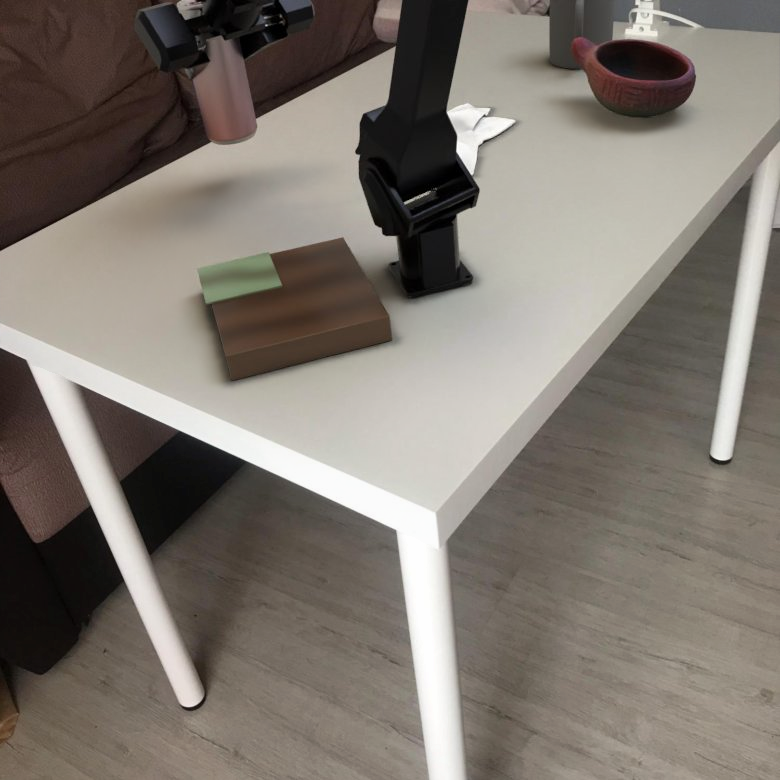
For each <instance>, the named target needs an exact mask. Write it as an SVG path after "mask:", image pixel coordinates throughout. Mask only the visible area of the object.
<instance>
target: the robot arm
mask: <svg viewBox="0 0 780 780" xmlns="http://www.w3.org/2000/svg"><path fill="white" fill-rule="evenodd" d="M469 1H470V0H401V4H400V5H401V6H400V13H399V21H398V28H397V33H396V42H395V48H394V56H393V61H392V62H393V63H392V71H391V78H390V84H389V91H388V98H387V102H386V104H385V105H382V106H379V107H377V108H374V109H372V110H369V111H367V112H364V113H362V115H361V118H360V121H359V123H358V124H359V126H358V127H359V139H358V144H357V147H356V149H355V150H354V153H355V155H357V156H358V157H359V158H358V180H359V184H360V186H361V189H362V192H363V195H364V198H365V201H366V204H367V207H368V210H369V213H370V216H371V218H372V221H373V224H374V226H376V227H378V228H380V229H381V234H382V236H385V237H395V239H396V248H397V249H396V250H397V258H398V260H394V261H391V262H389V263H388V268H389V271H390V272H391V274H392V275H393V277H394V279H395V280H396V282H397V283H398V285H399V286H400V288H401V289H402V291H403V292H404V294H405V295H406V297H408V298H415V297H418V296H422V295H426V294H430V293H431V294H432V293H435V292H439V291H443V290H447V289H451V288H456V287H459V286H464V285H467V284H471V283H473V282H474V275H473V274H472V273H471V272H470V270H469V269H468V267H466V265H465V264H464V263H463V261H462V260H461V259H460V245H459V243H460V242H459V230H458V229H459V226H458V215H459V214H461V213H463V212H465V211H467V210H470V209H473V208H476V207H477V204H478V200H479V196H480V192H481V189H480V187H479V185H478V183H477V182H476V181H475V178H474V177H473V176H471V174H470V172H469V171H468V169H467V168H466V166H465V164H464V163H463V161H462V160H461V158H460V156H459V155H458V153H457V152H456V150H457V133H456V131H455V129H454V127H453V125H452V123H451V120H450V118H449V116H448V114H447V112H448V103H449V98H450V94H451V90H452V84H453V79H454V74H455V69H456V65H457V60H458V55H459V49H460V45H461V39H462V35H463V30H464V25H465V20H466V15H467V9H468V4H469ZM195 2H196V3H198V2H201V3H202V5H203V6H202V8H200V10H199V13H200V15H201V16H198V17H194V18H191V19H187V20H185V19H184V17H183V16H182V14H181V13H179V11H178V7H177V5H176V4H175V3H174V2H169V1H166V2H163V3H159V4H156V5H155V4H154V5H152V6H147V7H143V8H141V9H137V12H136V15H135V18H134V24H133V30H134V31H135V33H136V34H137V36H138V37H139V39H140V41H141V42H142V44H143V45H144V47H145V49H146V50H147V53H148V54H149V56H150V57H151V59H152V60H153V62H154V64H155V65H156V67H157V69H158V70H159V71H161V72H164V73H165V74H169V73H171V72H175V71H178V70H182V69H184V72H185V74H186V75H187V77H188V79H189V80H190V81H191V80H192V81H193V79H194V77H196V76H197V75H199V73H200V72H201V71H202V70H203V69H204V68H205V67H206V66H207V65H208V64H209V62H210V59H209V58H208V56H207V54H206V53H205V51H204V48H205V46H206V42H207V41H210V40H213V39H217V38H220V37H223V39H224V41H226V40H230V39H233V38H236V37H239V40H240V44H241V49H242V54H243V59H244V62H246V61H248V60H250V59H251V58H253V57H254V56H256V55H258V54H260V53H261V52H263V51H265V50H266V49H268V48H270V47H272V46H273V45H276V44H277V43H279V42H281V41H284V40H286V39H287V38H288V36H289V35H290V36H291V35H293V34H297V33H301V32H305V31H307V30H310V28H311V26H312V24H313V21H314V19H315V15H316V12H315V6H314V4H313V2H312V1H311V0H195ZM283 22H284V23H283ZM435 188H436V189H437V190H436V189H435ZM433 190H434V191H433ZM430 191H431V192H430ZM428 192H429V193H428ZM426 193H427V194H426ZM424 194H425V195H424ZM421 195H423V196H421ZM419 196H421V197H419ZM417 197H419V198H417ZM415 198H416V199H415ZM413 199H414V200H413ZM411 200H412V201H411ZM408 201H409V202H408ZM406 202H407V203H406Z"/></svg>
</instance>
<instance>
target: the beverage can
mask: <svg viewBox="0 0 780 780" xmlns="http://www.w3.org/2000/svg"><path fill="white" fill-rule="evenodd" d="M202 6H203V5H202V3H201V2H198V3H196V2H195V0H180V1H178V2H177V3H176V8H177V9H178V11H179V13H181V14H182V16H183V17H184V19H185V20H187V19H191V18H194V17H198V16H201V15H200V13H199V10H200V8H202ZM204 51H205V53H206V54H207V56H208V58H209V59H210V62H209V64H208V65H207V66H206V67H205V68H204V69H203V70H202V71H201V72H200V73H199V75H197V76H196V77H194V79H192V81H193V86H194V91H195V94H196V98H197V102H198V106H199V107H198V108H199V111H200V114H201V119H202V122H203V127H204V131H205V135H206V138H207V139H208V140H209V141H210V142H211V143H213V144H214V145H220V146H231V145H236V144H241V143H243V142H244V143H245V142H246V141H248V140H251V139H252V138H253V137H254V136H255V134H256V133H257V130H258V122H257V118H256V113H255V108H254V103H253V98H252V94H251V88H250V83H249V79H248V74H247V69H246V65H245V64H246V63H245V61H244V59H243V54H242V49H241V44H240V40H239V37H236V38H233V39H230V40H226V41H224V39H223V37H220V38H217V39H213V40H210V41H207V42H206V46H205V48H204Z"/></svg>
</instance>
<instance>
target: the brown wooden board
mask: <svg viewBox="0 0 780 780" xmlns="http://www.w3.org/2000/svg"><path fill="white" fill-rule="evenodd" d="M196 270H197V276H198V278H199V283H200V286H201V291H202V294H203V299H204V302H205V306H207V305H211V306H212V310H213V314H214V318H215V322H216V325H217V330H218V333H219V337H220V340H221V341H220V342H221V344H222V348H223V352H224V356H225V359H226V363H227V367H228V371H229V375H230V379H231V381H235V380H239V379H244V378H248V377H252V376H256V375H261V374H265V373H267V372H271V371H276V370H280V369H284V368H287V367H291V366H295V365H300V364H303V363H307V362H312V361H315V360H319V359H323V358H326V357H327V358H328V357H330V356H335V355H338V354H339V355H340V354H343V353H347V352H352V351H355V350H359V349H363V348H367V347H370V346H374V345H379V344H382V343H388V342H391V341H392V340H393V333H392V326H391V325H392V323H391V317H390V314H389V313H388V311H387V309H386V307H385V305H384V304H383V302H382V301H381V299H380V297H379V296H378V294H377V292H376V290H375V289H374V287H373V285H372V284H371V281H369V279H368V277H367V275H366V273H365V271H364V270H363V268H362V267H361V265H360V263H359V261H358V260H357V258H356V256H355V255H354V254H353V252H352V250H351V248H350V246H349V245H348V242H347V241H346V239H345V238H344V236H343V237H338V238H334V239H329V240H324V241H320V242H315V243H312V244H307V245H303V246H299V247H294V248H290V249H286V250H282V251H276V252H272V253H270V252H269V251H267V252H263V253H258V254H254V255H250V256H249V255H248V256H245V257H241V258H236V259H232V260H228V261H223V262H219V263H214V264H210V265H206V266H201V267H198V268H196Z"/></svg>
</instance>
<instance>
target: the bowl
mask: <svg viewBox="0 0 780 780" xmlns="http://www.w3.org/2000/svg"><path fill="white" fill-rule="evenodd" d="M571 51H572V55H573V57H574V59H575V60H576V62H577V63H578V64H579V65H580V67H581V68H580V69H581V70H582V71H583V72H584V74H585V75H586V78H587V81H588V82H587V83H588V85H589V87H590V90H591V92H592V94H593V96H594V97H595V99H596V101H598V103H599V104H600V105H601V106H602V107H603V108H605V109H606V110H607V111H608V112H610V113H613V114H615V115H619V116H622V117H626V118H634V119H649V118H653V117H658V116H661V115H666V114H668V113H670V112H672V111H675V110H676V109H678V108H680V107H681V106H683V105H684V104H685V103H686V102H687V101H688V99H689V98H690V97H691V95H692V94H693V91H694V88H695V85H696V81H697V80H696V79H697V74H696V68H695V65H694V63H693V61H692V60H691V59H690V58H689V57H688V56H687V55H685V54H683V53H682V52H681V51H679V50H678V49H675V48H672V47H670V46H668V45H665V44H662V43H660V42H655V41H649V40H645V39H635V38H624V39H623V38H621V39H612V41H608V42H605V43H602V44H600V45H596V44H594V43H593V42H591V41H589V40H588V39H586V38H583V37H579V38H576V39H574V40H573V42H572V45H571Z"/></svg>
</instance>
